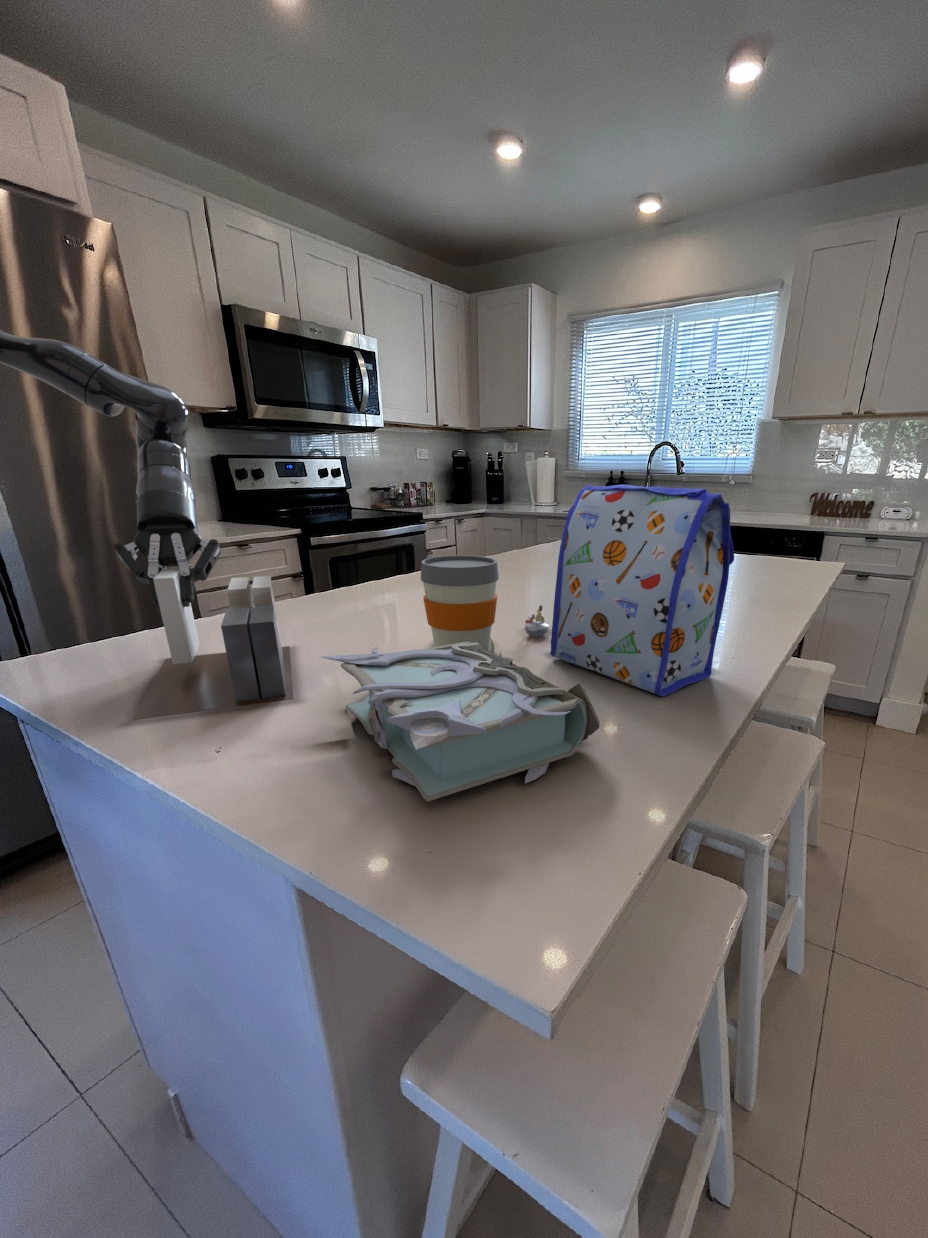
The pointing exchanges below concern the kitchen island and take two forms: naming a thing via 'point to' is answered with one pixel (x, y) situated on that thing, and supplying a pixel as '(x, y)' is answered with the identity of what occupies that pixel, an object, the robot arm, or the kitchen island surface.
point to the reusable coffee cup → (460, 598)
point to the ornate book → (465, 715)
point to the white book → (176, 616)
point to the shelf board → (199, 687)
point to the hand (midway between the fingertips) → (172, 604)
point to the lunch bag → (642, 584)
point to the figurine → (536, 625)
